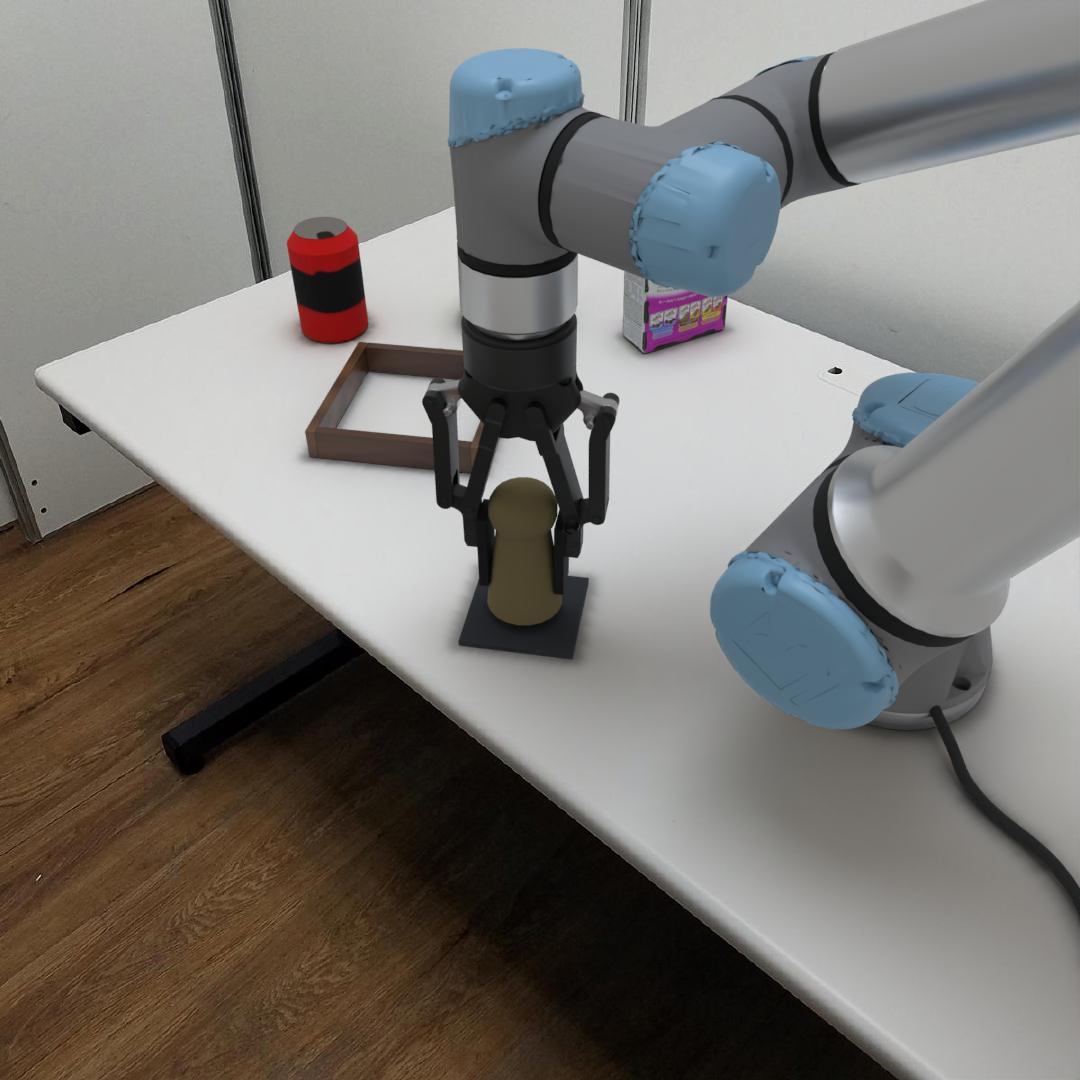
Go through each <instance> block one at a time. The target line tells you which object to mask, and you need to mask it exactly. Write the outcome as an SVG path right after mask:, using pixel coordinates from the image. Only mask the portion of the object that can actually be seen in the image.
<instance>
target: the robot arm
mask: <svg viewBox="0 0 1080 1080" xmlns="http://www.w3.org/2000/svg"><path fill="white" fill-rule="evenodd" d="M585 97H586V96H585V94H584V92H583V86H582V73H581V70H580V69H579V67H578V65H577V64H576V63H575V62H574V61H573V60H571V59H567V57H565V56H564V55H563V54H561V53H559V52H555V51H551V50H545V49H540V48H526V47H525V48H524V47H523V48H522V47H520V48H519V47H518V48H517V47H516V48H514V47H513V48H502V49H494V50H488V51H486V52H481V53H479V54H477V55H474V56H471V57H468V58H467V59H465V60H464V61H462V62H461V63H460V64H459V65H458V66H457V67H456V68H455V70H454V71H453V73H452V75H451V77H450V83H449V109H448V110H449V112H448V114H449V115H448V116H449V117H448V118H449V119H448V120H449V121H448V125H449V126H448V138H447V146H448V147H449V155H450V165H451V176H452V186H453V187H452V188H453V198H454V199H453V201H454V212H455V213H454V214H455V229H456V251H457V270H458V271H457V272H458V291H459V293H458V296H459V308H460V312H461V313H460V314H462V317H461V320H460V322H461V323H460V325H461V327H460V329H461V342H462V350H463V361H464V372H463V374H462V377H461V379H455V380H450V381H446V380H445V378H440V377H432V379H431V381H430V382H429V385H428V387H427V389H426V390H425V391H426V392H425V393H424V395H423V397H422V400H421V403H422V406H423V407H422V408H423V409H424V411H425V413H426V416H427V418H428V419H429V422H430V424H431V436H432V438H433V453H434V469H433V470H434V484H435V487H434V488H435V500H436V501H435V502H436V505H437V506H438V507H439V508H441V509H443V510H448V509H451V508H452V509H455V510H457V511H458V512H460V513H461V516H462V526H463V541H464V543H465V545H466V546H467V547H473V548H476V549H477V564H478V565H477V567H478V580H479V585H481V586H489V584H490V575H491V565H492V557H493V548H494V540H495V532H496V530H495V529H494V528H493V526H492V523H491V521H490V519H489V516H488V502H489V499H488V498H483V497H484V493H485V491H486V487H487V483H488V480H489V477H490V474H491V470H492V466H493V463H494V459H495V455H496V452H497V449H498V445H499V443H500V440H501V439H505V440H506V439H508V440H509V439H516V438H519V439H523V440H526V441H529V442H534V443H535V446H536V448H537V451H538V452H537V453H538V454H539V456H540V457H542V460H543V462H544V465H545V468H546V472H547V475H548V478H549V482H550V484H551V487H552V491H553V493H554V495H555V497H556V500H557V507H558V511H557V518H556V521H555V523H554V528H553V543H554V594H558V595H564V590H565V586H566V582H567V577H568V576H569V572H570V558H572V559H579V557H580V555H581V553H582V548H583V544H584V526H585V525H586V524H589V523H590V524H593V525H595V526H600V525H603V524H604V523H605V521H606V518H607V517H606V516H607V512H608V507H609V501H610V476H611V475H610V472H611V470H610V469H611V467H610V466H611V432H612V430H613V427H614V426H615V423H616V419H617V415H618V411H619V405H620V397H619V396H618V394H616V393H614V392H607V393H605V394H604V395H603V396H601V395H598V394H595V393H592V392H590V391H587V390H585V389H584V385H583V382H582V381H581V379H580V377H579V375H578V373H577V372H578V371H577V353H578V352H577V348H578V347H577V345H578V344H577V343H578V317H577V315H576V312H577V307H578V303H579V301H578V300H579V299H578V293H579V289H578V285H579V284H578V283H579V271H578V270H579V255H581V256H583V257H586V258H588V259H591V260H594V261H597V262H599V263H602V264H605V265H607V266H610V267H612V268H615V269H618V270H621V271H623V272H624V271H626V272H629V273H631V274H634V275H637V276H639V277H642V278H645V279H647V280H649V281H651V282H652V283H654V284H656V285H660V286H662V287H665V288H669V287H672V288H674V289H682V290H686V291H690V292H694V293H698V294H701V295H705V296H708V297H724V296H728V297H729V296H730V295H734V294H735V293H737V292H739V291H740V290H742V288H744V287H745V286H746V285H747V284H749V282H750V281H751V280H752V279H753V276H754V273H755V270H756V268H757V267H758V266H760V265H762V264H763V263H764V261H765V259H766V257H767V255H768V253H769V251H770V249H771V246H772V243H773V240H774V238H775V236H776V232H777V228H778V224H779V218H780V211H781V210H782V209H784V208H785V207H786V206H788V205H789V204H791V203H794V202H797V201H798V200H801V199H804V198H807V197H813V196H817V195H820V194H825V193H829V192H834V191H838V190H842V189H846V188H849V187H853V186H859V185H861V184H864V183H870V182H873V181H878V180H883V179H888V178H891V177H896V176H900V175H905V174H908V173H909V174H910V173H914V172H918V171H922V170H927V169H932V168H936V167H940V166H945V165H949V164H955V163H959V162H963V161H967V160H972V159H976V158H980V157H984V156H989V155H995V154H998V153H1003V152H1007V151H1011V150H1016V149H1020V148H1025V147H1031V146H1034V145H1038V144H1042V143H1043V144H1044V143H1047V142H1051V141H1057V140H1061V139H1065V138H1070V137H1073V136H1078V135H1080V0H983V1H979V2H976V3H975V4H970V5H968V6H965V7H962V8H959V9H955V10H953V11H950V12H946V13H944V14H943V13H942V14H940V15H938V16H934V17H932V18H928V19H925V20H923V21H920V22H916V23H913V24H910V25H907V26H905V27H902V28H899V29H896V30H892V31H888V32H886V33H883V34H881V35H876V36H874V37H871V38H868V39H865V40H862V41H859V42H856V43H853V44H850V45H847V46H844V47H841V48H838V49H837V50H836V51H833V52H829V53H825V54H821V55H817V56H815V55H809V56H801V57H797V58H791V59H788V60H785V61H782V62H780V63H777V64H775V65H773V66H770V67H768V68H765V69H763V70H761V71H759V72H758V73H756V75H755V76H754V77H752V78H751V79H749V80H747V81H745V82H743V83H742V84H740V85H737V86H736V87H734V88H733V89H730V90H729V91H727V92H725V93H723V94H721V95H719V96H717V97H713V98H711V99H710V100H708V101H706V102H704V103H702V104H700V105H698V106H696V107H694V108H692V109H690V110H688V111H685V112H684V113H682V114H679V115H678V116H676V117H674V118H671V119H670V120H668V121H666V122H664V123H662V124H660V125H655V126H653V125H651V126H650V125H644V124H639V123H636V122H635V123H634V122H630V121H626V120H621V119H617V118H613V117H610V116H608V115H605V114H602V113H600V112H597V111H592V110H589V109H587V108H585V107H583V105H584V102H585ZM461 399H462V400H463V402H464V403H465V404H466V405H467V407H468V408H469V409H470V410H471V412H473V414H474V415H475V416H476V417H477V418H478V420H479V422H480V421H481V422H482V423H483V424H484V426H483V430H482V433H481V437H480V440H479V444H478V449H477V453H476V456H475V460H474V464H473V467H472V471H471V473H469V474H470V475H469V478H468V481H467V485H466V486H465V485H463V484H461V481H460V480H461V479H460V472H459V453H458V440H459V432H458V429H459V428H458V410H459V407H460V404H461ZM577 409H578V410H579V411H580V412H581V413H582V416H583V418H582V422H583V424H584V425H585V427H586V429H587V430H589V431H590V434H589V439H588V497H585V498H584V495H583V491H582V488H581V485H580V482H579V481H580V480H579V478H578V474H577V472H576V468H575V465H574V462H573V459H572V456H571V452H570V449H569V445H568V442H567V438H566V435H565V424H564V423H565V422H566V421H567V420H568V419H569V418H570V417H571V416H572V415H573V414H574V412H575V411H576V410H577ZM851 417H852V421H853V423H852V428H851V432H850V436H849V437H848V441H847V443H846V445H845V447H844V448H843V450H842V451H841V452H840V454H838V456H837V457H836V458H835V459H834V460H832V462H830V464H828V466H827V467H826V468H825V469H824V470H823V471H822V472H821V473H820V474H818V476H817V477H815V478H814V480H812V482H810V483H809V484H808V485H807V486H806V488H805V489H803V491H802V492H800V493H799V495H798V496H797V497H796V498H794V500H793V501H791V503H790V504H788V506H787V507H786V508H785V509H784V510H783V511H782V512H781V513H780V514H779V515H778V516H777V517H776V518H775V519H774V520H773V521H771V523H770V524H769V525H768V526H767V527H766V528H765V529H764V530H763V531H762V532H761V534H759V535H758V536H757V537H756V538H755V539H754V540H753V542H751V543H750V544H749V546H747V548H745V550H743V551H741V552H738V553H736V554H735V555H734V556H733V557H732V558H731V559H729V561H728V564H727V569H725V571H724V572H723V573H722V575H721V576H720V577H718V579H717V581H716V583H715V584H714V587H713V589H712V590H711V591H712V592H711V596H710V601H709V615H710V622H711V624H712V625H713V627H714V629H715V637H716V641H717V643H718V645H719V647H720V649H721V651H722V652H723V654H724V656H725V658H726V659H727V661H728V662H729V664H730V665H731V667H732V668H733V669H734V670H735V672H736V673H737V675H739V676H740V678H742V680H743V681H744V682H745V683H746V684H747V685H748V686H749V687H750V688H751V689H752V690H754V692H756V694H758V695H759V696H760V697H761V698H762V699H764V700H765V701H766V702H768V703H770V704H771V705H773V706H774V707H775V708H776V709H778V710H780V711H782V712H783V713H785V714H787V715H789V716H791V717H797V718H799V719H800V720H802V721H803V722H805V723H807V724H810V725H813V726H816V727H821V728H824V729H829V730H830V729H831V730H852V729H855V728H856V729H857V728H860V727H862V726H865V725H870V726H872V727H873V726H875V727H878V728H884V729H891V730H903V731H904V730H905V731H913V730H925V729H931V728H936V730H937V732H938V733H939V736H940V738H941V741H942V742H943V745H944V747H945V749H946V751H947V754H948V756H949V759H950V762H951V765H952V768H953V771H954V772H955V775H956V777H957V779H958V781H959V783H960V784H961V786H962V788H963V789H964V790H965V792H966V793H967V795H968V796H969V797H970V798H971V800H972V801H973V802H974V803H975V804H976V805H977V807H978V808H979V809H981V811H982V812H983V813H984V814H985V815H986V816H987V817H988V818H990V819H991V820H992V821H993V822H994V823H995V824H997V825H998V826H999V827H1000V828H1001V829H1003V830H1004V831H1005V832H1006V833H1008V834H1009V835H1010V836H1011V837H1012V838H1014V839H1015V840H1017V841H1018V842H1019V843H1020V844H1021V845H1022V846H1024V847H1025V848H1027V849H1028V850H1029V851H1030V852H1031V853H1032V854H1033V855H1035V857H1037V858H1038V859H1039V860H1040V861H1041V862H1042V863H1043V864H1044V865H1045V867H1046V868H1048V870H1050V872H1051V873H1052V874H1053V875H1054V877H1055V878H1056V879H1057V880H1058V882H1059V883H1060V885H1061V886H1062V888H1063V889H1064V891H1066V892H1065V893H1067V895H1068V896H1069V898H1070V899H1071V901H1072V903H1073V905H1074V907H1075V909H1076V910H1077V912H1078V915H1080V885H1079V884H1078V882H1077V881H1076V880H1075V878H1074V877H1073V876H1072V874H1071V873H1070V872H1069V870H1068V869H1067V868H1066V866H1065V865H1064V864H1063V863H1062V862H1061V861H1060V860H1059V858H1057V856H1056V855H1055V854H1054V853H1053V852H1051V850H1050V849H1049V848H1047V847H1046V846H1045V845H1044V844H1043V843H1042V842H1041V841H1040V840H1038V839H1037V838H1036V837H1035V836H1033V834H1031V833H1030V832H1028V831H1027V830H1026V829H1024V827H1022V826H1021V825H1019V824H1018V823H1017V822H1016V821H1015V820H1013V819H1012V818H1010V817H1009V816H1008V815H1007V814H1006V813H1004V812H1003V811H1002V810H1001V809H1000V808H999V807H998V806H997V805H996V804H995V803H993V802H992V800H990V799H989V798H988V796H987V795H986V794H985V793H984V792H983V791H982V790H981V789H980V787H979V785H978V784H977V783H976V782H975V779H973V777H972V775H971V774H970V772H969V770H968V768H967V767H968V766H967V765H966V762H965V760H964V756H963V754H962V752H961V749H960V747H959V744H958V742H957V740H956V738H955V736H954V733H953V732H952V731H953V730H952V729H951V727H950V725H949V723H951V722H954V721H955V720H958V719H959V718H961V717H963V716H964V715H966V714H967V713H968V712H970V711H971V710H972V709H973V708H974V707H975V706H976V705H977V703H978V702H979V701H980V699H981V697H982V695H983V694H984V692H985V689H986V687H987V683H988V680H989V678H990V676H991V673H992V668H993V662H994V661H993V660H994V659H993V641H992V632H991V625H992V624H993V623H995V622H996V620H997V619H998V618H999V617H1000V616H1001V615H1002V612H1003V611H1004V609H1005V607H1006V605H1007V602H1008V598H1009V593H1010V587H1011V579H1012V578H1014V577H1016V576H1017V575H1019V574H1020V573H1022V572H1024V571H1025V570H1027V569H1029V568H1030V567H1032V566H1034V565H1035V564H1037V563H1039V562H1041V561H1042V560H1044V559H1045V558H1047V557H1049V556H1050V555H1052V554H1054V553H1055V552H1057V551H1058V550H1060V549H1063V548H1064V547H1065V546H1067V545H1069V544H1070V543H1072V542H1073V541H1075V540H1077V539H1078V538H1080V300H1078V301H1077V302H1076V303H1075V304H1073V306H1071V307H1070V308H1069V309H1067V311H1066V312H1064V313H1063V314H1062V315H1060V316H1059V317H1058V318H1057V319H1055V321H1053V322H1052V323H1051V324H1049V326H1047V327H1046V328H1045V329H1044V330H1043V331H1041V332H1040V333H1039V334H1038V335H1037V336H1036V337H1034V338H1033V339H1032V340H1030V341H1029V342H1028V343H1027V344H1026V345H1025V346H1023V347H1022V348H1021V349H1019V351H1017V352H1016V353H1015V354H1013V356H1011V357H1010V358H1009V359H1008V360H1006V361H1005V362H1004V363H1003V364H1001V365H1000V366H999V367H998V368H997V369H995V370H994V371H993V372H992V373H991V374H989V376H987V377H985V379H983V380H982V381H981V382H977V381H975V380H971V379H968V378H963V377H959V376H955V375H950V374H943V373H933V372H921V371H920V372H915V371H914V372H900V373H894V374H890V375H886V376H882V377H880V378H878V379H876V380H874V381H872V382H871V383H870V384H868V385H867V386H866V387H865V389H864V390H863V391H862V392H861V394H860V397H859V399H858V403H857V405H856V407H855V408H854V409H853V411H852V414H851Z"/></svg>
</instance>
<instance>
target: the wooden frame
mask: <svg viewBox="0 0 1080 1080" xmlns="http://www.w3.org/2000/svg"><path fill="white" fill-rule="evenodd" d="M368 372H374V373H384V374H385V373H386V374H394V375H395V374H397V375H407V376H408V375H409V376H419V377H430V378H436V377H440V378H442V379H452V380H454V379H455V380H460V379H461V377H462V374H463V372H464V361H463V349H462V350H461V349H450V348H440V347H439V348H438V347H427V346H417V345H416V346H415V345H402V344H390V343H389V344H388V343H379V342H367V341H358V342H357V344H356V346H355V347H354V349H353V351H352V352H351V354H350V356H349V358H348V359H347V361H346V363H345V364H344V365H343V367H342V369H341V371H340V373H339V374H338V376H337V377H336V379H335V380H334V382H333V384H332V386H331V387H330V389H329V391H328V392H327V394H326V395H325V397H324V399H323V401H322V402H321V404H319V407H318V409H317V410H316V412H315V414H314V415H313V417H312V418H311V420H310V421H309V424H308V425H307V427H306V429H305V430H304V434H305V439H306V446H307V451H308V456H309V457H310V458H319V459H327V460H337V461H347V462H355V463H356V462H358V463H367V464H376V465H386V466H394V467H395V466H396V467H406V468H415V469H427V470H434V453H433V437H430V436H429V437H428V436H420V435H409V434H398V433H391V432H390V433H388V432H379V431H378V432H377V431H368V430H360V429H359V430H358V429H348V428H339V427H338V425H339V423H340V422H341V419H342V418H343V416H344V414H345V412H346V410H347V409H348V408H349V405H350V404H351V402H352V401H353V398H354V397H355V394H356V393H357V391H358V390H359V388H360V386H361V384H362V383H363V381H364V379H365V377H366V375H367V374H368ZM483 426H484V424H483V423H482V422H481V421H480V420H479V423H478V426H477V428H476V430H475V434H474V436H473V437H472V440H461V439H458V453H459V473H465V474H471V471H472V467H473V464H474V460H475V456H476V453H477V449H478V444H479V440H480V437H481V433H482V430H483Z"/></svg>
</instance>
